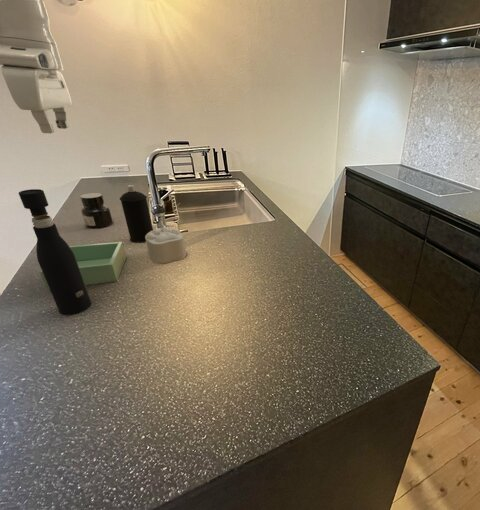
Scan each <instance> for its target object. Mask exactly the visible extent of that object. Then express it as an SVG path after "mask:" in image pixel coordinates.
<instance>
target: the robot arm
mask: <svg viewBox="0 0 480 510" xmlns="http://www.w3.org/2000/svg"><path fill="white" fill-rule="evenodd" d="M44 1H45V0H0V66H1V73H2V74H1V75H2V77H3V80H4V81H5V84H6V86H7V89H8V92H9V93H10V96H11V98H12V100H13V102H14V103H15V105H16V106H17V107H18V109H20V110H22V111H30V112H31V115H32V117H33V119H34V121H36V123H37V124H38V127H39V129H40V132H41V133H43V134H53V133H54V132H55V129H54V125H53V123H51V122H50V119H49V117H48V116H49V114H48V110H49V111H50V110H52V111H53V112H54V115H55V124H56V127H57V128H58V129H64V130H65V129H68V128H69V127H70V126H69V122H68V111H67V108H68V107H72V105H73V103H72V102H73V101H72V98H71V95H70V92H69V88H68V85H67V82H66V80H65V78H64V76H63V73H62V72H61V71H64V66H63V62H62V59H61V55H60V51H59V48H58V44H57V42H56V40H55V38H54V37H53V35H52V32H51V29H50V16H49V14H48V10H47V6H46V4H45V2H44Z"/></svg>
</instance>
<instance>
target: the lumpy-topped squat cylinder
mask: <svg viewBox="0 0 480 510" xmlns="http://www.w3.org/2000/svg"><path fill="white" fill-rule="evenodd" d="M145 239H146V242H145V243H146V247H147V251H148V256H149V258H150V259H151V261H152V262H153V263H155V264H159V265H163V264H168V263H171V262H175V261H179V260H183V259H184V258H186V257H187V251H186V246H185V240H184V236H183V234H182V233H181V232H180V230H179V229H178V228H168V227H167V226H164V227H160V228H153V231H151V232H149V233H148V234H147V235H146V236H145ZM185 256H186V257H185Z"/></svg>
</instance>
